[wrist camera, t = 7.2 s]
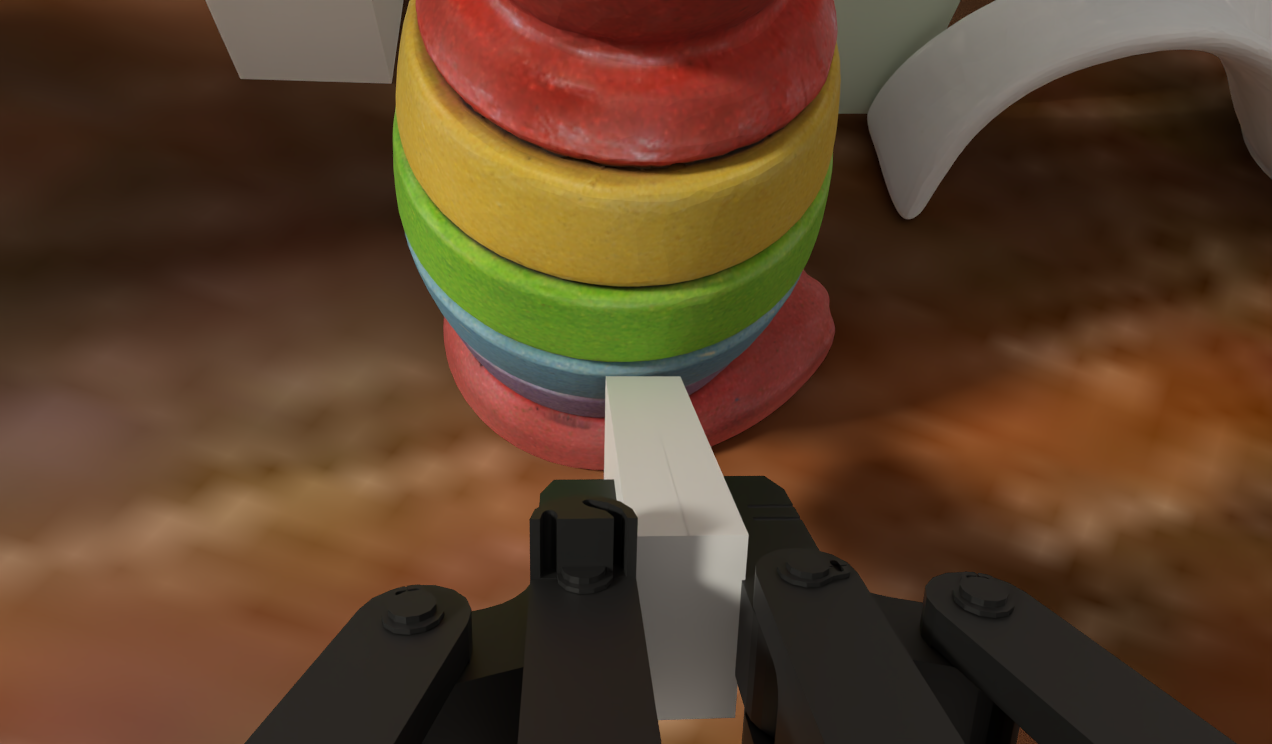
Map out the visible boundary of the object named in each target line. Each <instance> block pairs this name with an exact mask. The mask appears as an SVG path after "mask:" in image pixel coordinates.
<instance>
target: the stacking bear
mask: <svg viewBox="0 0 1272 744" xmlns="http://www.w3.org/2000/svg"><path fill="white" fill-rule="evenodd" d="M837 32H838V28H837V17H836V9H835V4H834V0H410V1H409V4H408V8H407V12H406V15H405V19H404V23H403V28H402V34H401V40H400V48H399V56H398V64H397V79H396V109H395V115H394V122H393V169H394V179H395V188H396V197H397V203H398V209H399V214H400V217H401V221H402V224H403V228H404V231H405V236H406V239H407V243H408V246H409V249H410V251H411V254H412V257H413V259H414V262H415V264H416V267H417V269H418V271H419V273H420V275H421V277H422V279H423V281H424V283H425V285H426V287H427V289H428V291H429V293H430V294H431V296H432V298H433V299H434V301H435V303H436V304H437V306H438V308H439V309H440V311H441V313H442V314H443V316H444V326H443V330H444V344H445V350H446V355H447V360H448V363H449V367H450V370H451V372H452V375H453V377H454V380H455V382H456V385H457V387H458V388H459V390H460V392H461V393H462V395H463V397H464V398H465V400H466V401H467V403H468V404H469V405H470V406H471V408H472V409H473V410H474V411H475V413H476V414H477V415H478V416H479V418H480V419H481V420H482V421H483V422H484V423H485V424H487V425H488V426H489V427H490V428H491V429H492V430H493V431H494V432H495V433H497V434H498V435H500V436H501V437H502V438H504V439H505V440H507V441H508V442H510V443H511V444H513V445H514V446H516V447H518V448H520V449H522V450H524V451H526V452H528V453H530V454H532V455H534V456H537V457H539V458H542V459H544V460H547V461H549V462H553V463H557V464H561V465H565V466H569V467H575V468H583V469H591V470H604V448H605V388H606V376H680V377H681V379H682V381H683V384H684V386H685V388H686V391H687V393H688V395H689V398H690V400H691V402H692V405H693V407H694V409H695V412H696V414H697V416H698V419H699V421H700V423H701V426H702V428H703V430H704V433H705V435H706V437H707V439H708V442H709V444H710V446H714V445H716V444H718V443H720V442H723V441H725V440H727V439H729V438H731V437H733V436H735V435H737V434H739V433H741V432H743V431H745V430H746V429H748V428H750V427H752V426H753V425H755V424H757V423H758V422H760V421H761V420H763V419H764V418H766V417H767V416H769V415H770V414H771V413H772V412H774V411H775V410H776V409H778V408H779V407H780V406H782V405H783V404H784V403H785V402H787V401H788V400H789V399H790V398H791V397H792V396H793V395H794V394H795V393H796V392H797V391H798V390H799V389H800V388H801V387H802V386H803V385H804V384H805V383H806V382H807V381H808V379H809V378H810V377H811V376H812V375H813V374H814V373H815V371H816V370H817V369H818V367H819V366H820V365H821V363H822V362H823V361H824V359H825V357H826V355H827V353H828V351H829V349H830V348H831V345H832V343H833V339H834V335H835V325H834V321H833V318H832V316H831V312H830V308H829V302H830V299H829V295H828V293H827V291H826V289H825V288H824V287H823V286H822V285H821V283H820V282H819V281H817V280H815V279H814V278H812V277H811V276H809V275H807V273H806V272H805V271H804V267H805V266H806V264H807V262H808V259H809V257H810V255H811V252H812V250H813V247H814V245H815V242H816V239H817V236H818V233H819V229H820V226H821V223H822V219H823V215H824V210H825V206H826V202H827V198H828V192H829V186H830V181H831V175H832V167H833V148H834V142H835V136H836V130H837V122H838V112H839V102H840V83H841V77H840V56H839V51H838V46H837Z"/></svg>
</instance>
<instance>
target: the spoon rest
mask: <svg viewBox="0 0 1272 744" xmlns="http://www.w3.org/2000/svg"><path fill="white" fill-rule="evenodd" d="M1181 49H1182V50H1197V51H1204V52H1208V53H1211V54H1213V55H1215V56H1217V57H1219V59H1220V60H1221V62H1222V64H1223V67H1224V69H1225V71H1226V74H1227V79H1228V84H1229V88H1230V93H1231V98H1232V102H1233V106H1234V110H1235V112H1236V115H1237V118H1238V120H1239V123H1240V125H1241V130H1242V135H1243V139H1244V142H1245V144H1246V146H1247V149H1248V151H1249V152H1250V154H1251V156H1252V158H1253V159H1254V160H1255V162H1256V163H1257V164H1258V165H1259V167H1260V168H1261V169H1262V170H1263V171H1264V172H1265V173H1266V174H1267V175H1268V176H1269V177H1270V178H1271V179H1272V0H995V1H993V2H991V3H990V4H988V5H986V6H984V7H982V8H980V9H978V10H976V11H975V12H973V13H971V14H969V15H967V16H966V17H964V18H963V19H961V20H959V21H958V22H956V23H955V24H953V25H952V26H950V27H949V28H947V29H946V30H944V31H943V32H942V33H940V34H939V35H937V36H936V37H934V38H933V39H932V40H930V41H929V42H928V43H926V44H925V45H924V46H923V47H921V48H920V49H919V50H918V51H916V52H915V53H914V54H913V55H912V56H911V57H910V58H908V59H907V60H906V61H905V62H904V63H903V64H902V65H901V66H900V67H899V68H898V69H897V70H896V71H895V73H894V74H893V75H892V76H891V77H890V78H889V80H888V81H887V82H886V83H885V84H884V86H883V87H882V88H881V90H880V91H879V93H878V94H877V96H876V97H875V99H874V101H873V103H872V105H871V107H870V109H869V111H868V115H867V122H868V128H869V132H870V135H871V138H872V141H873V144H874V147H875V150H876V153H877V156H878V159H879V163H880V167H881V170H882V173H883V176H884V180H885V183H886V186H887V189H888V191H889V194H890V197H891V199H892V202H893V204H894V206H895V208H896V210H897V211H898V213H899V214H900V216H901V217H903V218H905V219H912V218H914V217H916V216H917V215H919V214H920V213H921V212H922V210H923V209H924V208H925V206H926V205H927V203H928V201H929V200H930V198H931V197H932V195H933V193H934V192H935V190H936V189H937V187H938V185H939V184H940V182H941V181H942V179H943V178H944V176H945V175H946V173H947V172H948V171H949V169H950V168H951V166H952V165H953V163H954V162H955V160H956V159H957V157H958V156H959V155H960V154H961V152H962V151H963V149H964V148H965V147H966V146H967V145H968V143H969V142H970V141H971V140H972V139H973V138H974V137H975V136H976V134H977V133H978V132H979V131H981V130H982V129H983V128H984V127H985V126H986V125H987V124H988V123H989V122H990V121H991V120H992V119H993V118H995V117H996V116H997V115H999V114H1000V113H1001V112H1002V111H1004V110H1005V109H1006V108H1008V107H1009V106H1010V105H1011V104H1013V103H1015V102H1016V101H1018V100H1019V99H1021V98H1022V97H1024V96H1025V95H1027V94H1028V93H1030V92H1032V91H1034V90H1035V89H1037V88H1039V87H1041V86H1043V85H1045V84H1047V83H1049V82H1051V81H1053V80H1055V79H1058V78H1060V77H1062V76H1065V75H1067V74H1070V73H1072V72H1075V71H1078V70H1081V69H1084V68H1087V67H1090V66H1094V65H1097V64H1101V63H1104V62H1108V61H1112V60H1115V59H1119V58H1124V57H1128V56H1132V55H1138V54H1144V53H1150V52H1157V51H1165V50H1181Z"/></svg>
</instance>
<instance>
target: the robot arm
mask: <svg viewBox="0 0 1272 744" xmlns="http://www.w3.org/2000/svg"><path fill="white" fill-rule="evenodd" d="M737 684H738V687H739V690H740V694H741V697H742V700H743V704H744V707H745V709H744V721H743V734H742V744H1016V743H1017V738H1018V733H1019V727H1021V728H1022V729H1023V730H1024V731H1025V732H1026V733H1027V734H1028V735H1029V736H1030V737H1031V738H1033V739H1034V740H1035V741H1036V742H1037V743H1038V744H1237V743H1235V742H1234V741H1232V740H1231V739H1230V738H1228V737H1227V736H1225V735H1224V734H1223V733H1221V732H1220V731H1218V730H1217V729H1216V728H1214V727H1213V726H1211V725H1210V724H1209V723H1207V722H1206V721H1204V720H1203V719H1202V718H1200V717H1199V716H1197V715H1196V714H1195V713H1193V712H1192V711H1190V710H1189V709H1188V708H1186V707H1185V706H1184V705H1182V704H1181V703H1179V702H1178V701H1177V700H1175V699H1174V698H1172V697H1171V696H1170V695H1168V694H1167V693H1165V692H1164V691H1163V690H1161V689H1160V688H1158V687H1157V686H1156V685H1154V684H1153V683H1151V682H1150V681H1149V680H1147V679H1146V678H1144V677H1143V676H1142V675H1140V674H1139V673H1137V672H1136V671H1135V670H1133V669H1132V668H1130V667H1129V666H1128V665H1126V664H1125V663H1124V662H1122V661H1121V660H1119V659H1118V658H1117V657H1115V656H1114V655H1112V654H1111V653H1110V652H1108V651H1107V650H1105V649H1104V648H1103V647H1101V646H1100V645H1098V644H1097V643H1096V642H1094V641H1093V640H1091V639H1090V638H1089V637H1087V636H1086V635H1084V634H1083V633H1082V632H1080V631H1079V630H1077V629H1076V628H1075V627H1073V626H1072V625H1071V624H1069V623H1068V622H1066V621H1065V620H1064V619H1062V618H1061V617H1059V616H1058V615H1057V614H1055V613H1054V612H1052V611H1051V610H1050V609H1048V608H1047V607H1045V606H1044V605H1043V604H1041V603H1040V602H1038V601H1037V600H1036V599H1034V598H1033V597H1031V596H1030V595H1029V594H1027V593H1026V592H1024V591H1022V590H1020V589H1019V588H1017V587H1015V586H1013V585H1011V584H1010V583H1008V582H1005V581H1002V580H999V579H996V578H993V577H992V576H990V575H987V574H982V573H978V574H976V573H975V572H957V573H945V574H942V575H939V576H936V577H933V578H932V579H931V580H930V581H929V583H928V584H927V585H926V586H925V593H924V600H923V603H922V602H916V601H910V600H903V599H897V598H891V597H886V596H882V595H877V594H873V593H870V592H869V590H868V589H867V587H866V586H865V584H864V582H863V581H862V579H861V578H860V576H859V574H858V573H857V572H856V571H855V570H854V569H853V568H852V567H851V566H850V565H849V564H848V563H847V562H845V561H843V560H841V559H839V558H838V557H836V556H834V555H832V554H828V553H825V552H821V551H819V549H818V547H817V546H816V544H815V542H814V540H813V539H812V537H811V535H810V534H809V532H808V530H807V528H806V527H805V525H804V523H803V521H802V520H800V516H799V515H798V513H797V511H796V509H795V508H794V507H793V504H792V502H791V501H790V499H789V497H788V496H787V494H786V492H785V490H784V489H783V488H781V487H780V486H778V485H777V484H775V483H774V482H772V481H771V480H769V479H768V478H766V477H765V476H723V474H722V472H721V470H720V467H719V465H718V463H717V460H716V458H715V456H714V453H713V451H712V449H711V446H710V444H709V442H708V439H707V437H706V435H705V433H704V430H703V428H702V426H701V423H700V421H699V419H698V416H697V414H696V412H695V409H694V407H693V405H692V402H691V400H690V398H689V395H688V393H687V391H686V388H685V386H684V384H683V381H682V379H681V377H680V376H606V388H605V448H604V479H598V480H553V481H552V482H551V483H550V484H549V485H548V486H547V487H546V488H545V489H544V490H543V491H542V492H541V493H540V505H539V507H538V508H537V509H535V510H534V512H533V514H532V516H531V518H530V585H529V586H528V587H527V589H526V590H525V591H523V592H522V593H521V594H519V595H518V596H517V597H515V598H513V599H511V600H509V601H507V602H505V603H503V604H499V605H496V606H493V607H489V608H486V609H481V610H476V611H472V612H471V608H470V605H469V603H468V601H467V599H466V598H465V597H464V596H462V595H461V594H459V593H458V592H456V591H455V590H452V589H448V588H444V587H440V586H436V585H410V586H407V587H405V586H404V587H400V588H396V589H393V590H390V591H388V592H386V593H383V594H381V595H379V596H376V597H374V598H372V599H371V600H370V601H369V602H367V603H366V604H365V605H364V606H362V607H361V608H360V609H359V610H358V611H357V612H356V613H355V615H354V616H353V617H352V618H351V619H350V620H349V622H348V623H347V624H346V625H345V626H344V627H343V629H342V630H341V631H340V632H339V633H338V634H337V636H336V637H335V638H334V639H333V640H332V642H331V643H330V644H329V645H328V646H327V647H326V649H325V650H324V651H323V652H322V653H321V654H320V656H319V657H318V658H317V659H316V660H315V661H314V663H313V664H312V665H311V666H310V667H309V668H308V670H307V671H306V672H305V673H304V674H303V675H302V677H301V678H300V679H299V680H298V681H297V683H296V684H295V685H294V686H293V687H292V688H291V690H290V691H289V692H288V693H287V694H286V695H285V697H284V698H283V699H282V700H281V701H280V702H279V704H278V705H277V706H276V707H275V708H274V709H273V711H272V712H271V713H270V714H269V715H268V717H267V718H266V719H265V720H264V721H263V722H262V724H261V725H260V726H259V727H258V728H257V729H256V731H255V732H254V733H253V734H252V735H251V736H250V738H249V739H248V740H247V741H246V742H245V743H244V744H661V738H660V732H659V725H658V720H675V719H706V718H735V711H736V697H737Z"/></svg>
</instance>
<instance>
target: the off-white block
mask: <svg viewBox="0 0 1272 744" xmlns="http://www.w3.org/2000/svg"><path fill="white" fill-rule="evenodd" d="M205 1H206V3H207V5H208V8H209V10H210V12H211V14H212V17H213V19H214V21H215V23H216V26H217V28H218V30H219V32H220V35H221V37H222V39H223V41H224V43H225V46H226V48H227V50H228V52H229V55H230V57H231V59H232V61H233V64H234V66H235V68H236V70H237V73H238V75H239V77H240V79H261V80H292V81H324V82H356V83H387V84H392V78H393V71H394V64H395V57H396V50H397V43H398V35H399V28H400V21H401V14H402V7H403V0H205Z"/></svg>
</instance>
